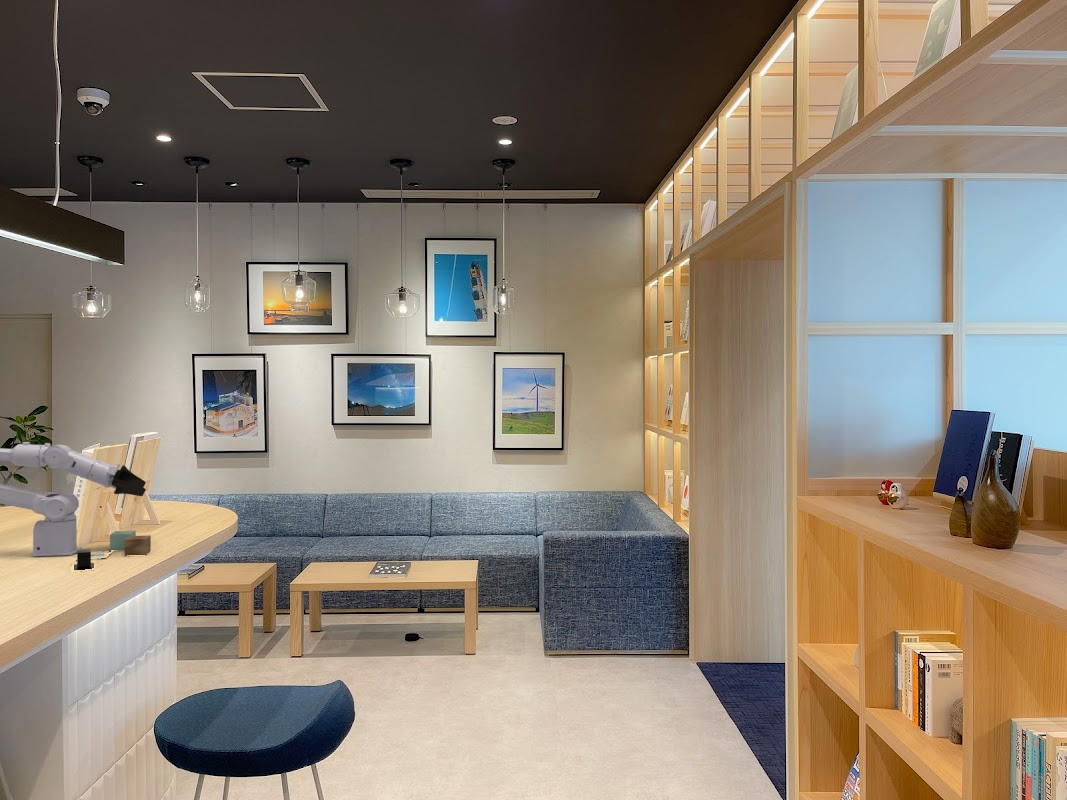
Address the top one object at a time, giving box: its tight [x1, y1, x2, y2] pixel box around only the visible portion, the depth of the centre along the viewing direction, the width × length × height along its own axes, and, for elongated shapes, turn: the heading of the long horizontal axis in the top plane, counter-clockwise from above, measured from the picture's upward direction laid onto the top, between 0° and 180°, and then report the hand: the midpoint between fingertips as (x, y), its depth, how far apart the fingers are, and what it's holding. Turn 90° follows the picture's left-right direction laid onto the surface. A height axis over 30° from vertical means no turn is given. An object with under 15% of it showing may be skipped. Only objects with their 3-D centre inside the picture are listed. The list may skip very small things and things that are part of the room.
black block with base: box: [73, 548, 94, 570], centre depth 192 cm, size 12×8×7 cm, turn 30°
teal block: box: [109, 530, 137, 551], centre depth 214 cm, size 5×5×4 cm
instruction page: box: [75, 550, 109, 561], centre depth 204 cm, size 7×10×1 cm
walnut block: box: [124, 535, 152, 557], centre depth 207 cm, size 5×5×4 cm
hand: (144, 489), depth 212 cm, fingers open, 7 cm apart
